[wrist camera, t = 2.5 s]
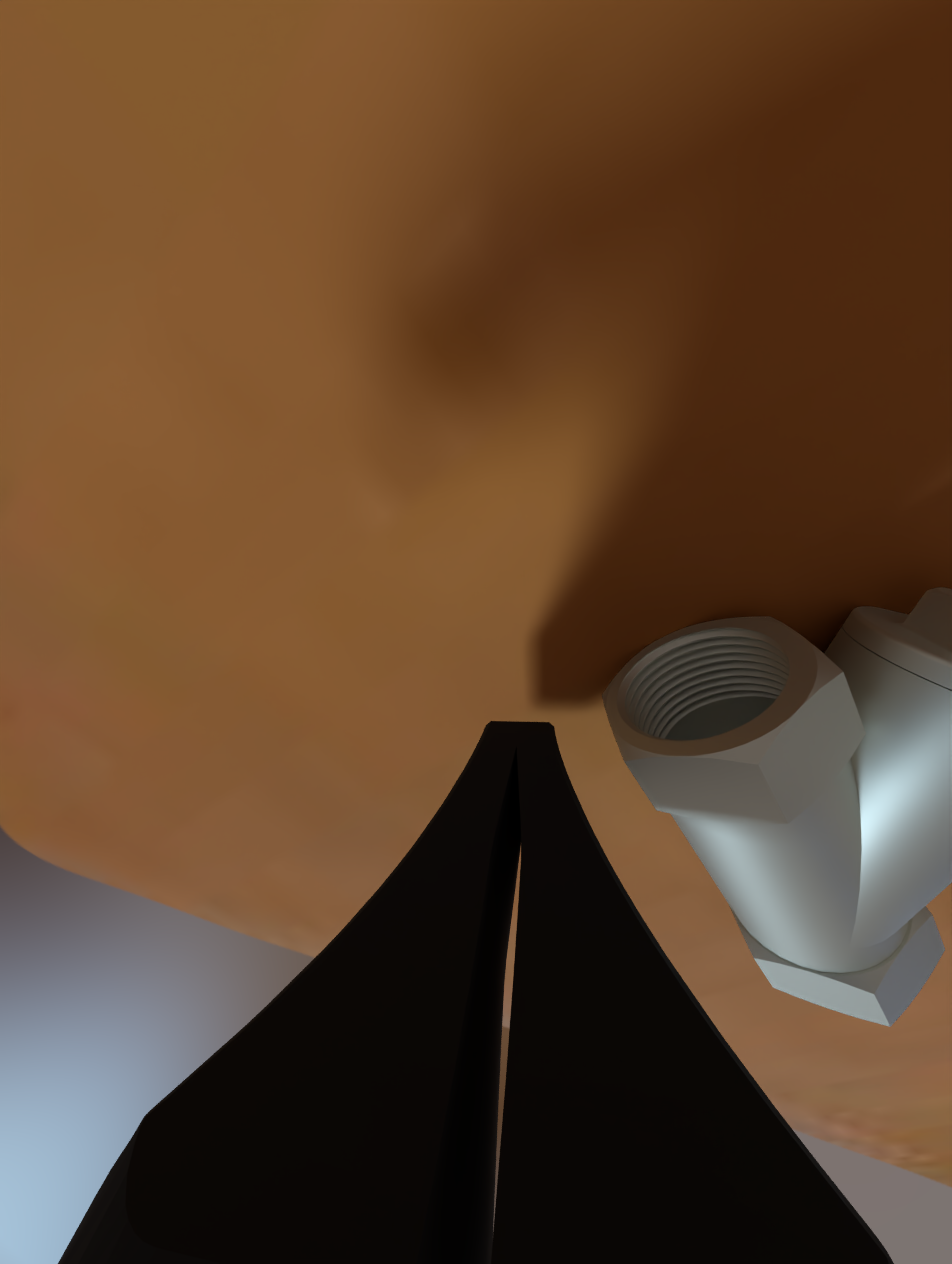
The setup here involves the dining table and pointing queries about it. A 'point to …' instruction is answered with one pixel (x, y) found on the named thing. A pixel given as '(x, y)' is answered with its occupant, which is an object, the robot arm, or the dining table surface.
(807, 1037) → the dining table surface
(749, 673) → the pipe fitting
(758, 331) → the dining table surface
